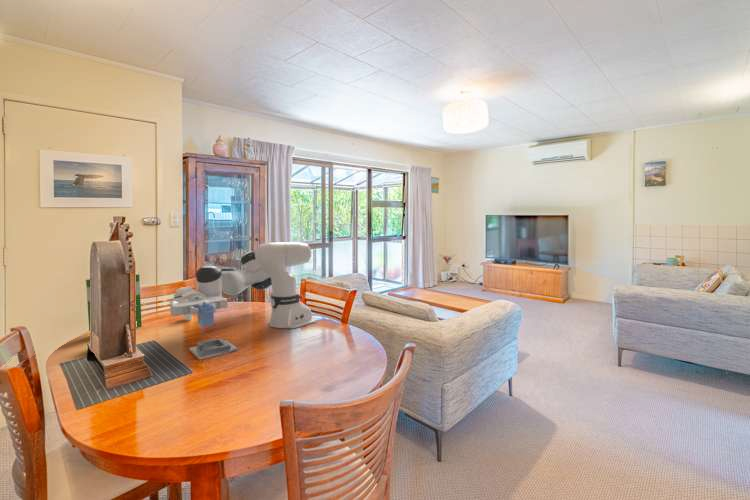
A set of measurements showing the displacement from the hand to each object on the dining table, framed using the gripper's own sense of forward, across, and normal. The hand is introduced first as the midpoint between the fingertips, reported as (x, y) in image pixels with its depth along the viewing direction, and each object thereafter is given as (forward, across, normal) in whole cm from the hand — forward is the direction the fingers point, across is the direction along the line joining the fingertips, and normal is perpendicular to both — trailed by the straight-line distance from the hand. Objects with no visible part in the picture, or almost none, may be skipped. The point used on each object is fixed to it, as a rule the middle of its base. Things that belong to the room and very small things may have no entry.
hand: (206, 310), depth 138 cm
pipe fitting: (-49, -8, -17) cm, 53 cm away
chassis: (0, -2, -16) cm, 16 cm away
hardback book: (-50, +21, -17) cm, 57 cm away
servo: (-1, 0, -6) cm, 6 cm away
